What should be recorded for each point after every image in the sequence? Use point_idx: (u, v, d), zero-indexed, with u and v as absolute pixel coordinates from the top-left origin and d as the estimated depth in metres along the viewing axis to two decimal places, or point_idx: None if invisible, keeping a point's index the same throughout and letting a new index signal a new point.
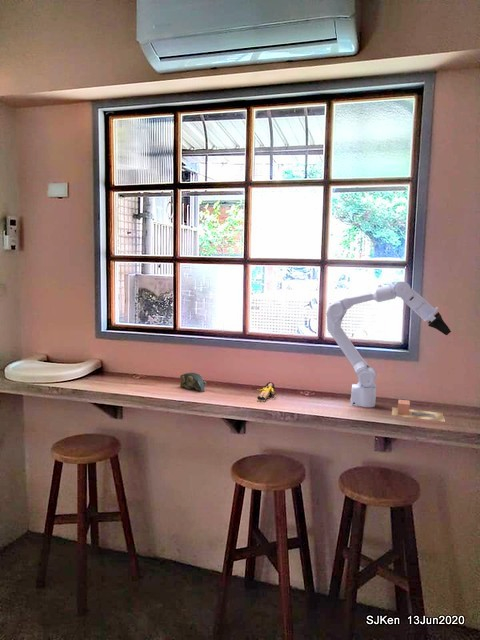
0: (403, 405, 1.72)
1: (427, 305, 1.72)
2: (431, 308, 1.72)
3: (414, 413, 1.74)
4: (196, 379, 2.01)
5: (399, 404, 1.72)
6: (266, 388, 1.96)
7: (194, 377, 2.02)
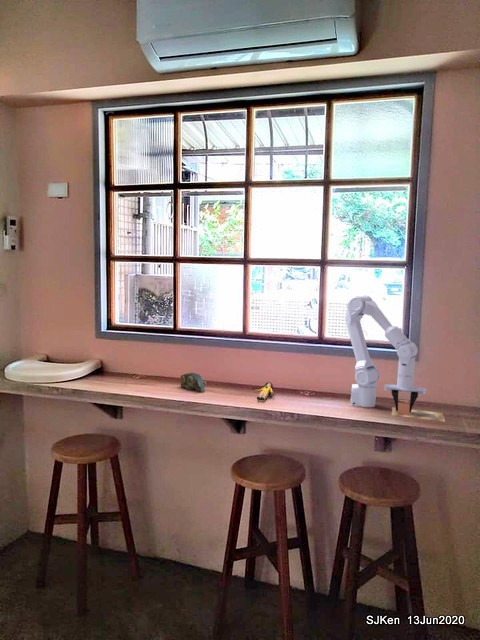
0: (403, 405, 1.72)
1: (400, 379, 1.72)
2: (400, 384, 1.72)
3: (414, 413, 1.74)
4: (196, 379, 2.00)
5: (399, 404, 1.72)
6: (265, 388, 1.96)
7: (194, 377, 2.01)
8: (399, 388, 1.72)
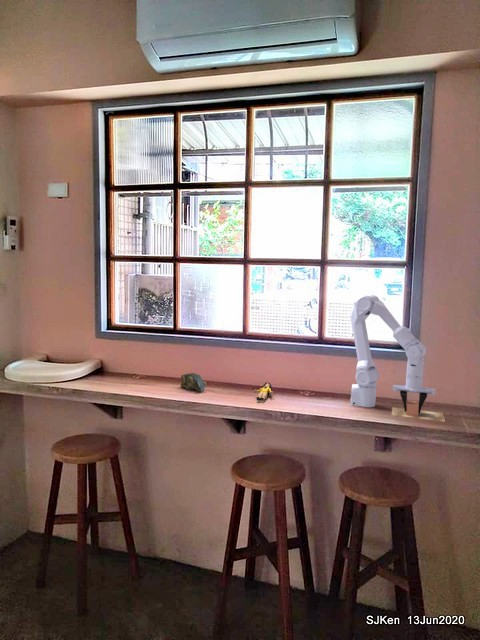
0: (412, 406, 1.71)
1: (409, 380, 1.71)
2: (409, 385, 1.71)
3: None
4: (196, 380, 2.00)
5: (408, 405, 1.71)
6: (264, 388, 1.95)
7: (194, 378, 2.00)
8: (408, 389, 1.71)
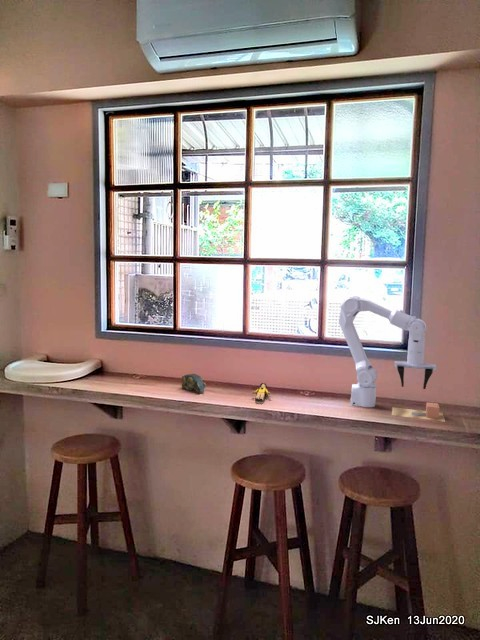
0: (432, 408, 1.69)
1: (410, 355, 1.73)
2: (410, 360, 1.73)
3: (414, 413, 1.74)
4: (196, 380, 1.98)
5: (428, 407, 1.69)
6: (261, 389, 1.94)
7: (194, 378, 1.99)
8: (409, 364, 1.73)
